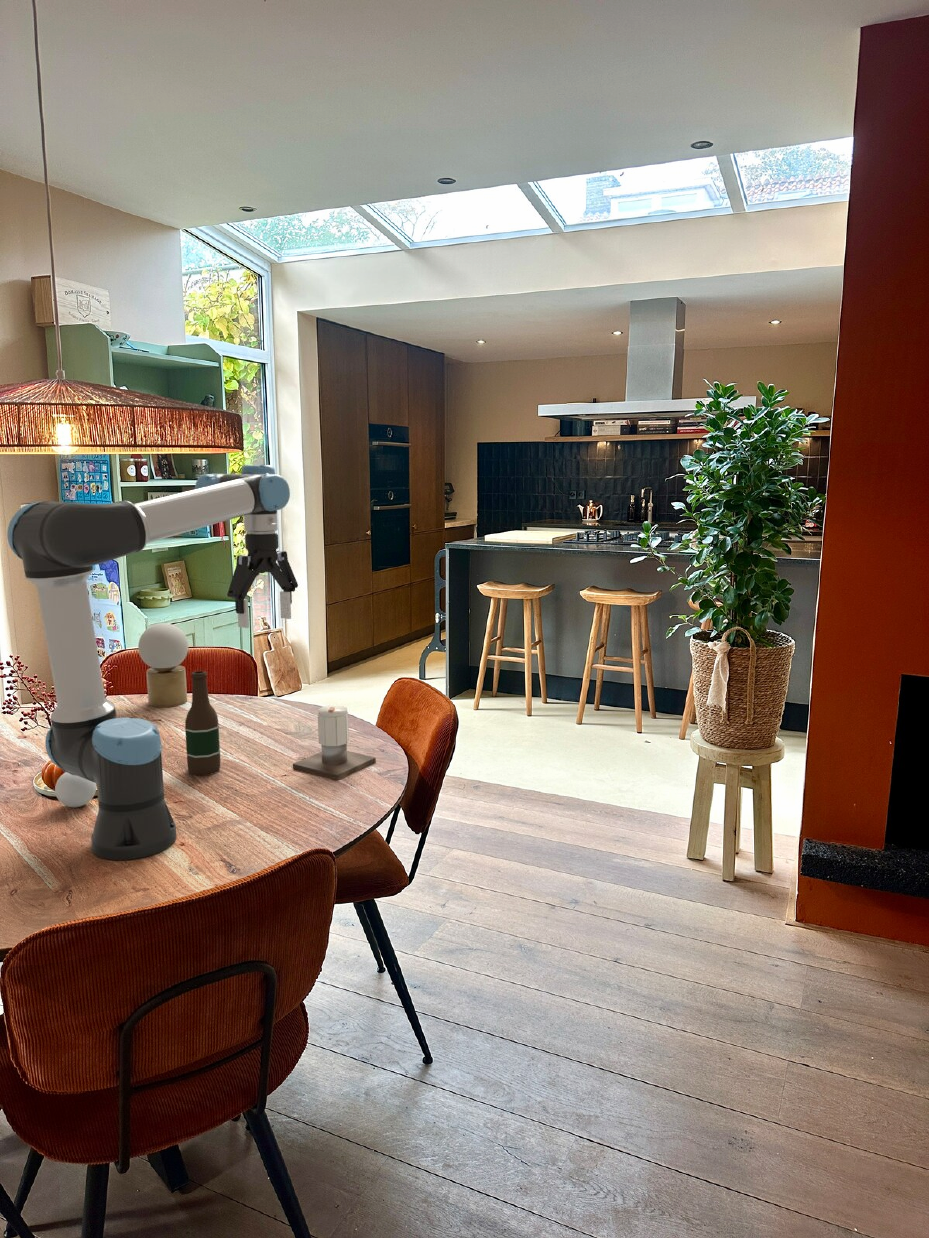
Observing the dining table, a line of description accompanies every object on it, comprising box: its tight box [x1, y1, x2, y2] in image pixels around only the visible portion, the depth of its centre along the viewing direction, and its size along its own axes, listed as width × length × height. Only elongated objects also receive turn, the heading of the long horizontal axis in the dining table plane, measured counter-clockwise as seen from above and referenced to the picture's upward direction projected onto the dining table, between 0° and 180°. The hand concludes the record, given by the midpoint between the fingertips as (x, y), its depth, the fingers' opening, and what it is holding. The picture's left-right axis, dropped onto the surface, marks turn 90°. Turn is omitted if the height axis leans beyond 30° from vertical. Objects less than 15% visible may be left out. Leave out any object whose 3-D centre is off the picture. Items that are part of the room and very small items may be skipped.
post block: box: [292, 742, 377, 781], centre depth 202 cm, size 14×14×11 cm
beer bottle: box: [184, 670, 221, 776], centre depth 198 cm, size 8×8×24 cm
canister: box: [317, 704, 350, 746], centre depth 201 cm, size 7×7×9 cm
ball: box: [54, 771, 97, 808], centre depth 178 cm, size 8×8×8 cm
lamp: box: [137, 622, 189, 708], centre depth 254 cm, size 15×14×25 cm
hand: (265, 622), depth 199 cm, fingers open, 13 cm apart
